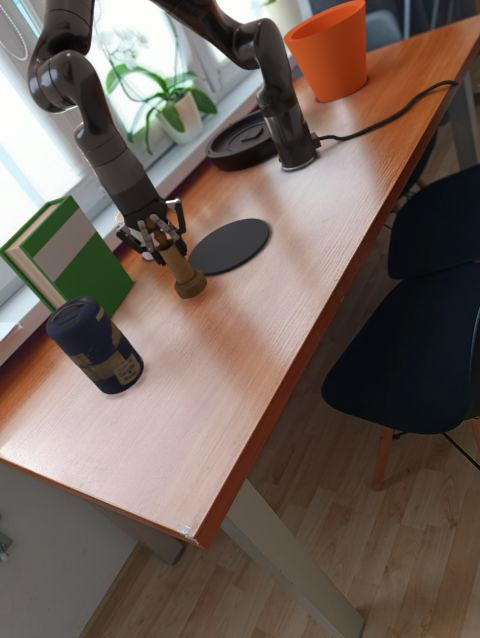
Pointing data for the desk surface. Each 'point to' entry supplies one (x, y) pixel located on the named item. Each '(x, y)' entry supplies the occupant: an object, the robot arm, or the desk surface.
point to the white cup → (139, 236)
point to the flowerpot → (332, 50)
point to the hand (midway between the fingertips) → (174, 258)
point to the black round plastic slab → (241, 144)
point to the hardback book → (66, 258)
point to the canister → (95, 345)
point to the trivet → (229, 246)
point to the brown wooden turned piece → (178, 265)
